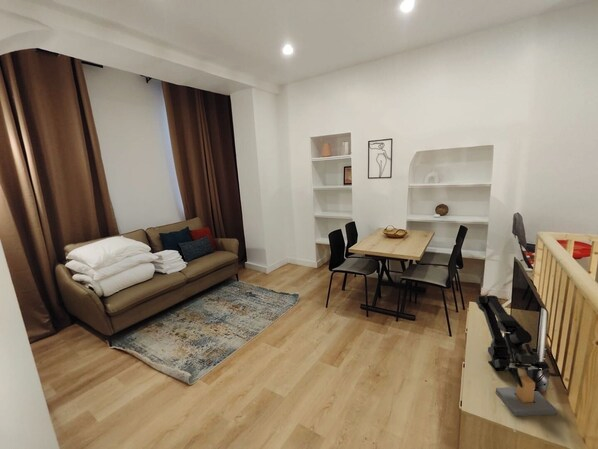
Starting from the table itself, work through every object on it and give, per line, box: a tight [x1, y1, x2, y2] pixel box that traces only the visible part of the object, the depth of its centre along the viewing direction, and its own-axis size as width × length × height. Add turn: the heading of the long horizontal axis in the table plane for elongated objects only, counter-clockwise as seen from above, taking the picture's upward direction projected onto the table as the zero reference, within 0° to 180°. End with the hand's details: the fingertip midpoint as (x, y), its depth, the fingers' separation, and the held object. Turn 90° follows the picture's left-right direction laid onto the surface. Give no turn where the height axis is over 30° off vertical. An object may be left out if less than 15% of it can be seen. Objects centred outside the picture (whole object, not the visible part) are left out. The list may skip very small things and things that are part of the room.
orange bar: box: [516, 375, 536, 403], centre depth 116 cm, size 4×4×10 cm
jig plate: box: [495, 386, 558, 417], centre depth 117 cm, size 12×16×2 cm
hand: (528, 387), depth 115 cm, fingers closed on orange bar, 4 cm apart
